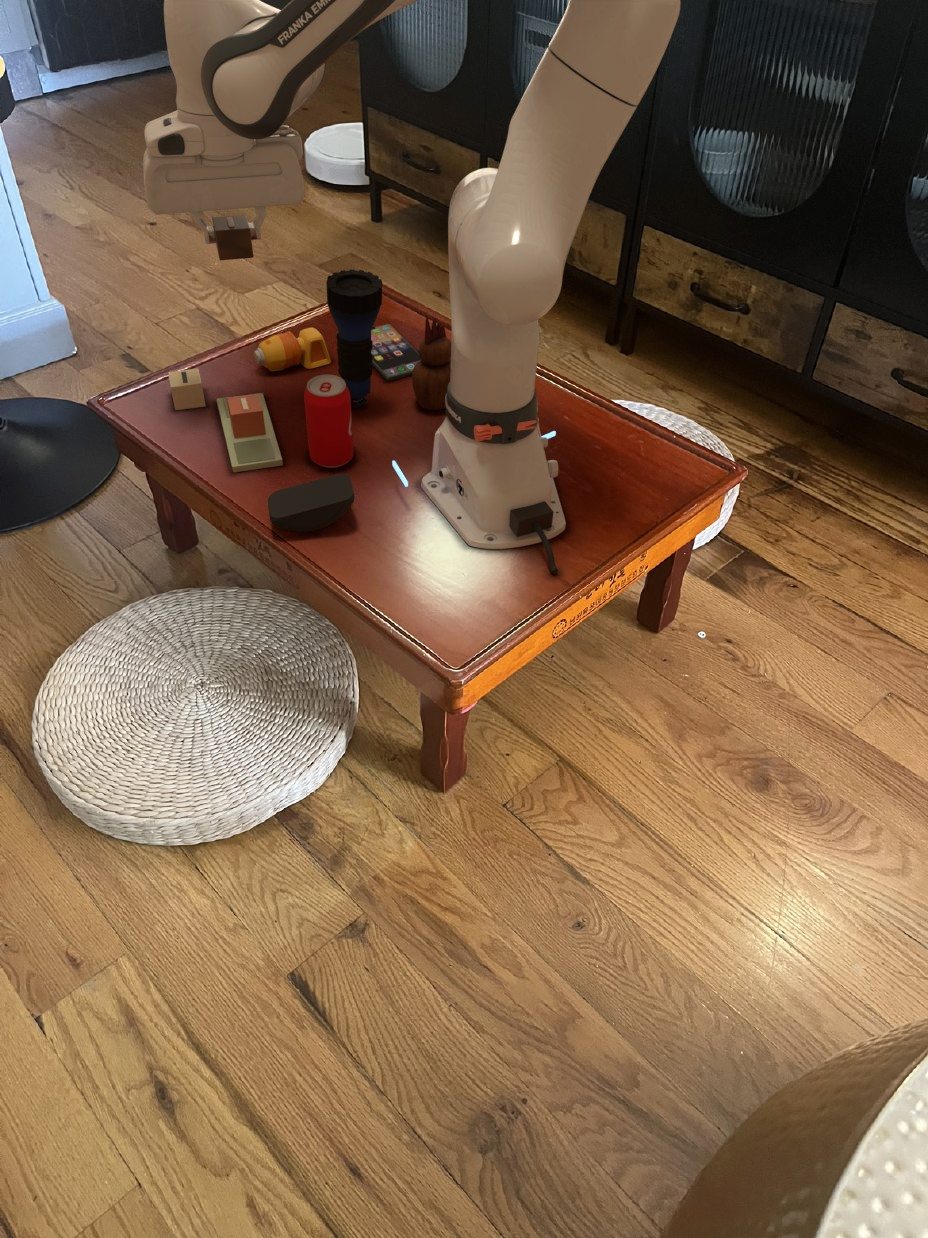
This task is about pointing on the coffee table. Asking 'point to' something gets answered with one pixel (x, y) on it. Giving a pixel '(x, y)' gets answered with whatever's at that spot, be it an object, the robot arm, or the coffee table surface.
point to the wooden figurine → (432, 368)
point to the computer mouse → (311, 504)
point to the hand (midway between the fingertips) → (232, 239)
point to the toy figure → (293, 350)
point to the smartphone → (392, 353)
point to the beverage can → (329, 421)
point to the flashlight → (354, 326)
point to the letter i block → (186, 389)
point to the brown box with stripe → (233, 237)
